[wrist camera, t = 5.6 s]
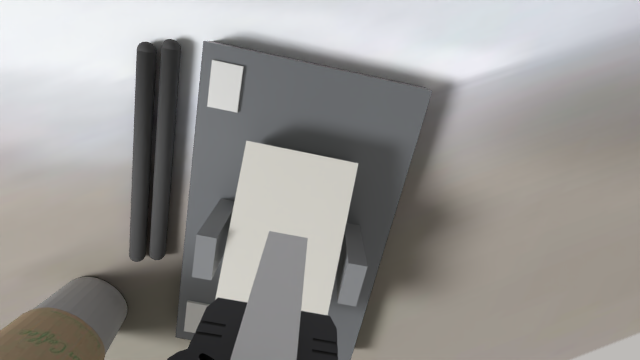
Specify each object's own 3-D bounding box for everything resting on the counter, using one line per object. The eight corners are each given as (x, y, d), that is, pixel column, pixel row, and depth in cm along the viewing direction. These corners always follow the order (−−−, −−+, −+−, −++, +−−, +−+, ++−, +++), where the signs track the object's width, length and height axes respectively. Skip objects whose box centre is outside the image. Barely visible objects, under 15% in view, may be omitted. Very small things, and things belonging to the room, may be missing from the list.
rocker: (251, 143, 25) (246, 140, 23) (352, 163, 26) (358, 163, 23) (210, 349, 26) (201, 368, 23) (311, 366, 26) (312, 387, 24)
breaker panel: (212, 41, 26) (169, 40, 18) (424, 87, 26) (461, 103, 19) (183, 320, 34) (146, 394, 27) (347, 349, 35) (352, 427, 27)
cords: (142, 32, 25) (134, 31, 24) (184, 41, 26) (177, 41, 24) (133, 255, 31) (126, 263, 30) (167, 261, 32) (161, 269, 30)
